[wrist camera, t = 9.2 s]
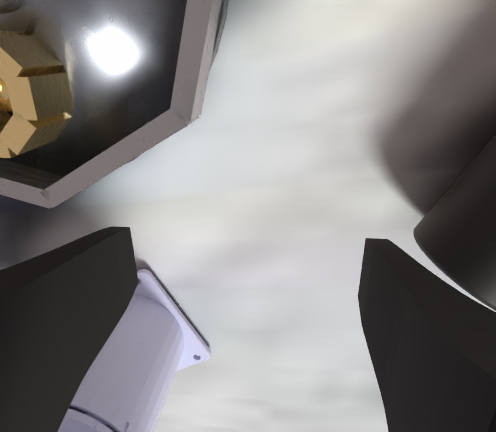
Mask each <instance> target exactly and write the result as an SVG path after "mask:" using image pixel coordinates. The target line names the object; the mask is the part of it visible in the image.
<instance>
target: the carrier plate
mask: <svg viewBox="0 0 496 432" xmlns="http://www.w3.org/2000/svg"><path fill="white" fill-rule="evenodd" d="M227 7H228V0H0V31H15V32H25V35H33V36H34V37H35V38H36V39H37V40H38V41H39V42H40V43H41V44H42V45H43V46H44V47H45V48H46V49H47V50H49V51H50V52H51V53H52V54H53V55H54V56H55V57H56V58H57V59H58V60H59V61H60V62H61V63H62V64H63V65H62V66H61V68H60V69H59V71H58V72H67V74H68V79H69V85H70V90H71V96H72V101H73V107H74V110H71V111H68V113H69V114H70V115H71V116H72V118H71V120H70V121H69V122H68V124H67V125H66V126H65V128H64V129H63V130H62V131H61V133H60V134H59V135H58V137H57V138H56V139H55V140H54V141H52V142H49V143H47V144H45V145H42V146H40V147H37V148H35V149H32V150H30V151H27V152H25V153H22V154H20V155H17V156H15V157H12V158H0V195H4V196H7V197H11V198H14V199H18V200H21V201H25V202H28V203H32V204H35V205H39V206H42V207H46V208H51V207H52V208H54V207H56V206H57V205H59V204H61V203H62V202H64V201H65V200H67V199H69V198H70V197H72V196H74V195H75V194H77V193H78V192H80V191H82V190H83V189H85V188H87V187H88V186H90V185H91V184H93V183H95V182H96V181H98V180H100V179H101V178H103V177H104V176H106V175H108V174H109V173H111V172H113V171H114V170H116V169H117V168H119V167H121V166H122V165H124V164H126V163H128V162H130V161H132V160H134V159H135V158H137V157H138V156H139V155H141V154H142V153H144V152H145V151H147V150H148V149H150V148H152V147H153V146H155V145H156V144H158V143H160V142H161V141H163V140H165V139H166V138H168V137H170V136H171V135H173V134H174V133H176V132H178V131H179V130H181V129H183V128H184V127H186V126H187V125H189V124H190V123H192V122H193V121H194V120H196V119H197V118H198V116H199V115H200V114H201V111H202V106H203V101H204V95H205V90H206V85H207V80H208V75H209V71H210V68H211V66H212V63H213V61H214V58H215V56H216V53H217V50H218V47H219V43H220V39H221V35H222V31H223V28H224V24H225V20H226V14H227ZM0 110H1V111H6V112H7V113H8V114H9V115H10V116H13V111H12V107H11V103H10V99H9V95H8V91H7V87H6V83H5V82H4V81H3V80H2V79H1V78H0Z"/></svg>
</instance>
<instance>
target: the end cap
mask: <svg viewBox="0 0 496 432" xmlns="http://www.w3.org/2000/svg"><path fill="white" fill-rule="evenodd" d="M414 238H415V240H416V242H417V244H418V245H419V247H420V248H421V250H422V251H423V252H424V253H425V255H426V256H427V257H428V258H429V259H430V260H431V261H432V262H433V263H434V264H435V265H436V266H437V267H438V268H439V269H440V270H441V271H442V272H443V273H444V274H446V275H447V276H448V277H449V278H450V279H451V280H453V281H454V282H455V283H456V284H457V285H459V286H460V287H461V288H463V289H464V290H465V291H467V292H468V293H469V294H471V295H472V296H473V297H475V298H476V299H478V300H479V301H481V302H482V303H484V304H485V305H487V306H489V307H490V308H492V309H494V310H495V311H496V134H495V135H494V136H493V138H492V139H491V140H490V141H489V142H488V143H487V145H486V146H485V147H484V148H483V149H482V150H481V152H480V153H479V154H478V155H477V156H476V157H475V159H474V160H473V161H472V162H471V163H470V164H469V166H468V167H467V168H466V169H465V170H464V171H463V173H462V174H461V175H460V176H459V177H458V178H457V180H456V181H455V182H454V183H453V184H452V185H451V186H450V188H449V189H448V190H447V191H446V192H445V193H444V195H443V196H442V197H441V198H440V199H439V200H438V202H437V203H436V204H435V205H434V206H433V207H432V209H431V210H430V211H429V212H428V213H427V214H426V216H425V217H424V218H423V219H422V220H421V221H420V223H419V224H418V225H417V226H416V227H415V229H414Z"/></svg>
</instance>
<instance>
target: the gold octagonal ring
mask: <svg viewBox="0 0 496 432" xmlns="http://www.w3.org/2000/svg"><path fill="white" fill-rule="evenodd" d="M62 65H63V64H62V63H61V62H60V61H59V60H58V59H57V58H56V57H55V56H54V55H53V54H52V53H51V52H50V51H49V50H47V49H46V48H45V47H44V46H43V45H42V44H41V43H40V42H39V41H38V40H37V39H36V38H35V37H34V36H33V35H25V32H15V31H0V78H1V79H2V80H3V81H4V82H5V83H6V87H7V91H8V95H9V99H10V103H11V107H12V111H13V116H10V115H9V114H8V113H7V112H6V111H1V110H0V158H12V157H15V156H17V155H20V154H22V153H25V152H27V151H30V150H32V149H35V148H37V147H40V146H42V145H45V144H47V143H49V142H52V141H54V140H55V139H56V138H57V137H58V135H59V134H60V133H61V131H62V130H63V129H64V128H65V126H66V125H67V124H68V122H69V121H70V120H71V118H72V116H71V115H70V114H69V113H68V111H71V110H74V107H73V101H72V96H71V90H70V85H69V79H68V74H67V72H58V71H59V69H60V68H61V66H62Z"/></svg>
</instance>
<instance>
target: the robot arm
mask: <svg viewBox="0 0 496 432" xmlns="http://www.w3.org/2000/svg"><path fill="white" fill-rule="evenodd" d="M138 278H139V279H140V280H141V281H138ZM358 300H359V308H360V315H361V322H362V327H363V331H364V335H365V338H366V342H367V346H368V349H369V353H370V356H371V360H372V363H373V367H374V371H375V374H376V378H377V381H378V385H379V388H380V392H381V396H382V400H383V404H384V408H385V413H386V419H387V425H388V431H389V432H496V312H494V311H492V310H490V309H489V308H487V307H485V306H483V305H481V304H480V303H478V302H476V301H474V300H472V299H471V298H469V297H468V296H466V295H464V294H463V293H461V292H460V291H458V290H457V289H455V288H454V287H452V286H450V285H449V284H447V283H446V282H444V281H443V280H442V279H440V278H439V277H437V276H436V275H434V274H433V273H432V272H430V271H429V270H428V269H426V268H425V267H424V266H422V265H421V264H420V263H418V262H417V261H416V260H415V259H413V258H412V257H411V256H409V255H408V254H407V253H406V252H404V251H403V250H402V249H400V248H399V247H398V246H397V245H395V244H394V243H392V242H391V241H390V240H388V239H372V238H366V240H365V247H364V255H363V262H362V270H361V277H360V285H359V292H358ZM196 354H197V355H199V356H197V355H196ZM210 354H211V351H210V349H209V347H208V346H207V345H206V344H205V342H204V341H203V340H202V338H201V337H200V336H199V334H198V333H197V332H196V331H195V329H194V328H193V327H192V325H191V324H190V323H189V321H188V320H187V319H186V317H185V316H184V315H183V314H182V312H181V311H180V310H179V308H178V307H177V306H176V304H175V303H174V302H173V301H172V299H171V298H170V297H169V295H168V294H167V293H166V291H165V290H164V289H163V288H162V286H161V285H160V284H159V282H158V281H157V280H156V278H155V277H154V276H153V274H152V273H151V272H150V271H149V270H147V269H140V270H138V271H137V269H136V263H135V257H134V251H133V244H132V238H131V232H130V227H108V228H105V229H102V230H99V231H96V232H94V233H91V234H89V235H87V236H84V237H82V238H80V239H77V240H75V241H73V242H70V243H68V244H66V245H63V246H61V247H59V248H56V249H54V250H52V251H49V252H47V253H44V254H42V255H39V256H37V257H34V258H32V259H29V260H27V261H24V262H22V263H19V264H17V265H14V266H11V267H8V268H6V269H3V270H0V432H153V431H154V428H155V426H156V423H157V420H158V418H159V415H160V412H161V410H162V407H163V405H164V402H165V399H166V397H167V394H168V391H169V389H170V386H171V383H172V381H173V378H174V375H175V373H176V371H177V370H180V369H183V368H185V367H188V366H191V365H194V364H196V363H199V362H202V361H204V360H207V359H209V357H210Z"/></svg>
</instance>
